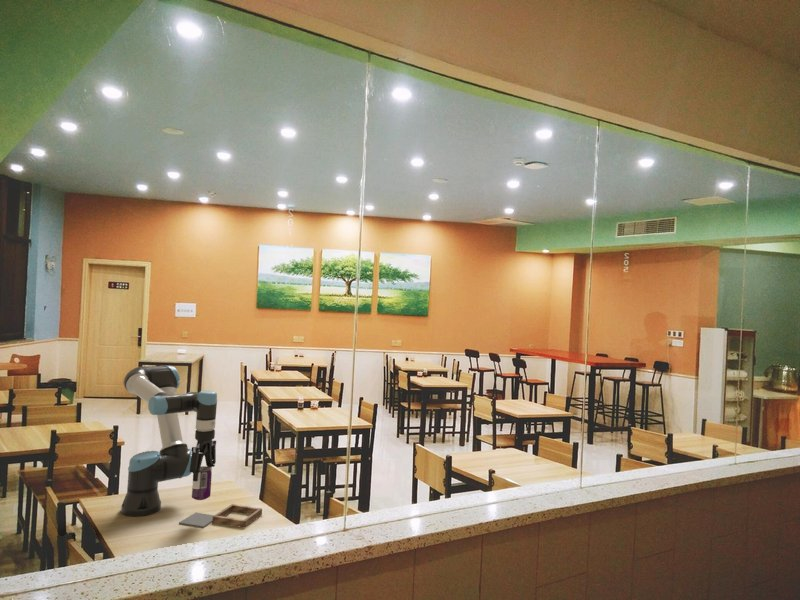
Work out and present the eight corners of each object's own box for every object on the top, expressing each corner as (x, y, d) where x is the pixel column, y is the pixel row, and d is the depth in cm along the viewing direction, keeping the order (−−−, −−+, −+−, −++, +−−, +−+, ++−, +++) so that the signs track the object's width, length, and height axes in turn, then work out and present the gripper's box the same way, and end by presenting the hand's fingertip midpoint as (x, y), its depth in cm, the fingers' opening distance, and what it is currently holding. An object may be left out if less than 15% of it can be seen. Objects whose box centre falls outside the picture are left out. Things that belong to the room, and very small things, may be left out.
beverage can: (213, 496, 212) (215, 467, 212) (203, 502, 205) (205, 472, 205) (198, 494, 213) (200, 465, 214) (188, 499, 206) (189, 470, 207)
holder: (212, 522, 208) (212, 516, 208) (231, 509, 222) (232, 504, 222) (244, 527, 205) (244, 521, 205) (261, 514, 219) (262, 508, 219)
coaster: (178, 523, 205) (179, 522, 205) (195, 513, 216) (195, 512, 216) (203, 527, 202) (203, 526, 202) (219, 517, 213) (219, 516, 213)
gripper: (198, 435, 199) (194, 494, 199) (227, 425, 219) (223, 479, 218) (181, 433, 201) (178, 492, 200) (211, 423, 221) (208, 477, 220)
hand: (201, 485), depth 209 cm, fingers closed on beverage can, 7 cm apart
